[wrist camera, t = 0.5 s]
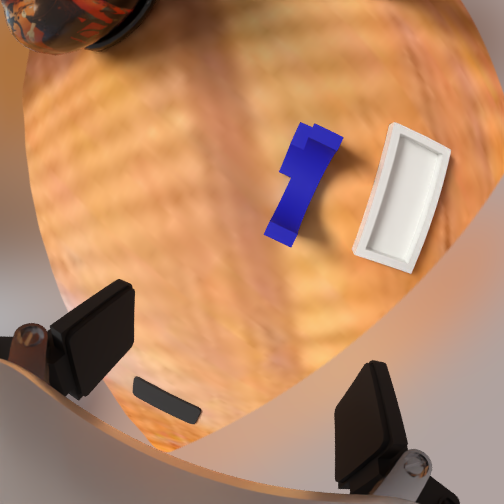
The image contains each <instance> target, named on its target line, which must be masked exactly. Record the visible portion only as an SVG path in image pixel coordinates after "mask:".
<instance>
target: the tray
mask: <svg viewBox="0 0 504 504" xmlns="http://www.w3.org/2000/svg"><path fill="white" fill-rule="evenodd" d="M450 153H451V150H450V149H448V148H447V147H445V146H443V145H441V144H439V143H437V142H435V141H434V140H432V139H430V138H428V137H426V136H424V135H422V134H420V133H417V132H415V131H413V130H411V129H409V128H407V127H405V126H402V125H400V124H398V123H395V122H393V123H391V124H389V128H388V132H387V136H386V140H385V144H384V148H383V152H382V156H381V160H380V163H379V167H378V171H377V174H376V178H375V181H374V184H373V188H372V191H371V194H370V198H369V201H368V204H367V207H366V210H365V213H364V216H363V219H362V222H361V225H360V228H359V231H358V234H357V237H356V239H355V242H354V245H353V248H352V251H353V253H354V255H357V256H360V257H363V258H366V259H369V260H372V261H375V262H378V263H381V264H384V265H387V266H390V267H393V268H396V269H399V270H402V271H405V272H407V273H410V274H411V273H412V271H413V268H414V266H415V263H416V261H417V259H418V256H419V254H420V251H421V249H422V246H423V243H424V241H425V238H426V235H427V233H428V230H429V227H430V224H431V221H432V218H433V215H434V212H435V209H436V206H437V203H438V199H439V196H440V193H441V189H442V185H443V182H444V178H445V174H446V170H447V166H448V162H449V157H450Z"/></svg>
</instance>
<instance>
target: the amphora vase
mask: <svg viewBox="0 0 504 504" xmlns="http://www.w3.org/2000/svg"><path fill="white" fill-rule="evenodd" d="M155 1H156V0H1V2H2V5H3V8H4V14H5V18H6V22H7V26H8V28H9V30H10V32H11V33H12V34H13V36H14V37H15V38H16V39H17V40H18V41H19V42H20V43H21V44H23V45H24V46H25V47H27V48H29V49H31V50H33V51H35V52H39V53H45V54H51V55H62V54H67V53H71V52H75V51H78V50H81V49H83V48H84V49H86V50H91V51H97V50H103V49H105V48H108V47H110V46H112V45H114V44H116V43H118V42H119V41H121V40H122V39H124V38H126V37H127V36H128V35H129V34H130V33H131V32H133V31H134V30H135V29H136V28H137V27H138V26H139V25H140V24H141V23H142V22H143V20H144V19H145V18H146V17H147V15H148V14H149V12H150V11H151V10H152V8H153V5H154V3H155Z"/></svg>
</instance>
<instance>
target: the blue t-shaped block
mask: <svg viewBox="0 0 504 504" xmlns="http://www.w3.org/2000/svg"><path fill="white" fill-rule="evenodd" d="M342 140H343V137H342V136H340V135H338V134H336V133H334V132H332V131H330V130H328V129H325V128H323V127H321V126H319V125H317V124H315V123H314V126H313V127H310V126H308V125H306V124H304V123H301V122H300V124H299V126H298V128H297V130H296V132H295V135H294V137H293V139H292V141H291V143H290V146H289V149H288V151H287V154H286V156H285V159H284V161H283V164H282V166H281V168H280V171H279V172H280V173H282V174H285V175H287V176H289V177H291V179H290V181H289V183H288V186H287V188H286V190H285V192H284V194H283V196H282V198H281V200H280V202H279V204H278V207H277V209H276V211H275V213H274V214H273V216H272V218H271V220H270V222H269V224H268V226H267V228H266V231H265V233H264V235H266V236H268V237H270V238H272V239H274V240H276V241H278V242H280V243H283V244H285V245H287V246H289V247H292V245H293V243H294V241H295V239H296V237H297V235H298V231H299V227H300V225H301V222H302V219H303V217H304V214H305V212H306V210H307V207H308V205H309V203H310V201H311V198H312V196H313V194H314V192H315V190H316V188H317V186H318V184H319V182H320V180H321V178H322V176H323V174H324V172H325V170H326V168H327V166H328V164H329V162H330V161H331V159H332V157H333V156H334V154H335V153H336V152H337V151H338V148H339V146H340V144H341V142H342Z"/></svg>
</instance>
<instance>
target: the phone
mask: <svg viewBox="0 0 504 504" xmlns="http://www.w3.org/2000/svg"><path fill="white" fill-rule="evenodd" d="M133 394H134V395H135V396H136V397H138V398H139V399H141V400H143V401H145V402H147V403H149V404H150V405H152V406H154V407H156V408H158V409H160V410H162V411H164V412H166V413H168V414H170V415H172V416H174V417H176V418H179V419H181V420H183V421H185V422H187V423H190V424H195V423H196V421H197V419H198V417H199V415H200V412H201V409H200V408H199V407H197V406H195V405H193V404H191V403H188V402H186V401H184V400H182V399H180V398H178V397H176V396H174V395H172V394H170V393H168V392H166V391H164V390H162V389H160V388H158V387H156V386H155V385H153V384H151V383H149V382H147V381H145V380H144V379H142V378H140V377H135V378H134V382H133Z"/></svg>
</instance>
